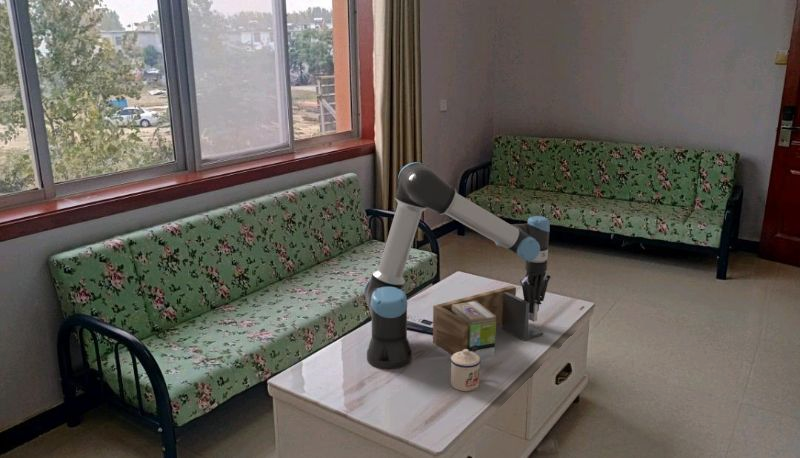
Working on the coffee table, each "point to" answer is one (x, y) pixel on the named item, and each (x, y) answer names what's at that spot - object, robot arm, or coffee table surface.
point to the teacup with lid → (465, 370)
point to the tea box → (478, 327)
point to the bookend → (517, 317)
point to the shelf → (453, 329)
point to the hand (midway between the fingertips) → (532, 320)
